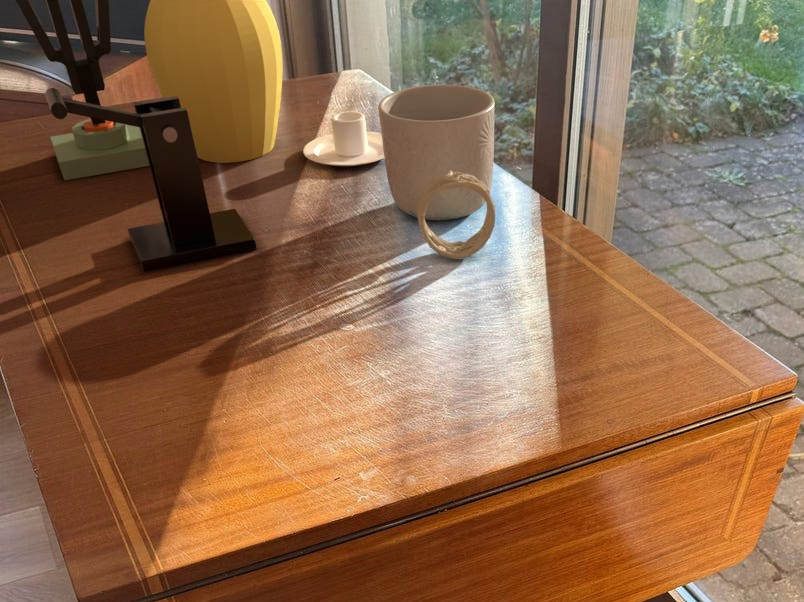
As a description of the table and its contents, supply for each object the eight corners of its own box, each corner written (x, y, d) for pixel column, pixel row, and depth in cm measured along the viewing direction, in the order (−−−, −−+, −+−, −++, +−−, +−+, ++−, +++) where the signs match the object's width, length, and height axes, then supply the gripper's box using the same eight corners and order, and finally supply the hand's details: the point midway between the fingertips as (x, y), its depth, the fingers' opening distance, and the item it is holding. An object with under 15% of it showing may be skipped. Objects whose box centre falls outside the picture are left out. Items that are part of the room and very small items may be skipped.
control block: (64, 180, 121) (53, 146, 118) (55, 154, 127) (44, 121, 124) (162, 163, 124) (154, 129, 121) (148, 139, 130) (140, 106, 127)
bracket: (144, 272, 102) (104, 130, 92) (130, 239, 108) (91, 102, 98) (257, 249, 105) (230, 109, 95) (237, 219, 111) (210, 84, 101)
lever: (50, 123, 92) (51, 95, 90) (44, 107, 95) (45, 80, 94) (182, 149, 98) (185, 123, 96) (172, 133, 101) (175, 108, 100)
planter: (393, 234, 107) (383, 126, 99) (383, 191, 116) (373, 89, 108) (504, 223, 108) (503, 116, 100) (486, 181, 117) (484, 80, 109)
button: (89, 144, 122) (85, 129, 121) (85, 135, 124) (81, 120, 123) (118, 139, 123) (114, 124, 122) (114, 131, 125) (110, 116, 124)
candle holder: (372, 176, 119) (369, 138, 116) (286, 165, 122) (280, 128, 119) (413, 142, 127) (411, 106, 124) (331, 133, 130) (327, 97, 127)
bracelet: (497, 258, 102) (496, 178, 96) (421, 263, 102) (415, 184, 96) (493, 242, 105) (491, 163, 99) (419, 247, 104) (413, 169, 99)
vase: (178, 179, 120) (111, -106, 100) (164, 137, 131) (101, -127, 111) (308, 160, 123) (267, -119, 103) (283, 120, 134) (243, -139, 114)
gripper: (-32, -105, 101) (47, 138, 118) (97, -117, 105) (155, 121, 122) (-36, -115, 106) (40, 120, 123) (87, -127, 110) (145, 103, 126)
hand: (97, 120), depth 122 cm, fingers closed
